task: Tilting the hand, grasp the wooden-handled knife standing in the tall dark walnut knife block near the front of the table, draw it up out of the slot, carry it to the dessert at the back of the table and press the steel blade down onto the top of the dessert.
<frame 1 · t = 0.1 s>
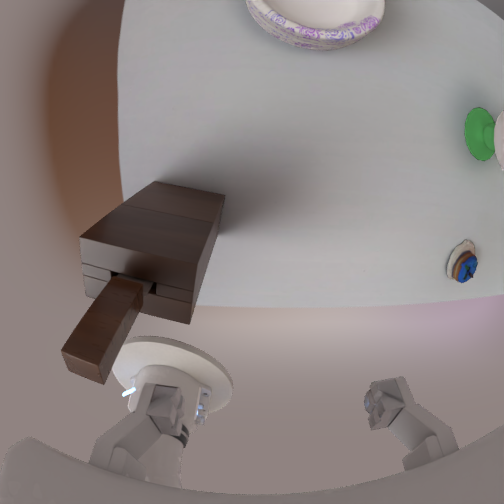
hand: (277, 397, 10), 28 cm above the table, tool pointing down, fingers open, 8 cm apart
knife block: (185, 208, 36), on the table
paper bowls: (306, 8, 23), on the table
cup: (480, 134, 28), on the table
dessert: (460, 259, 39), on the table
knife: (162, 239, 27), point 10 cm above the table, touching knife block
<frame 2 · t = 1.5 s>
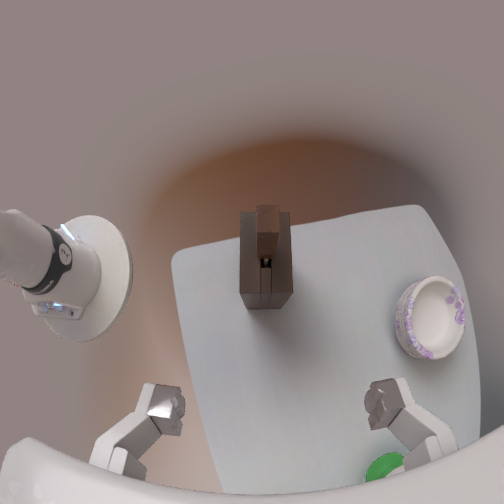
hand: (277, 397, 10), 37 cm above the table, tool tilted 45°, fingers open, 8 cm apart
knife block: (263, 281, 49), on the table
paper bowls: (417, 321, 46), on the table
cup: (385, 469, 36), on the table
knife: (264, 267, 40), point 10 cm above the table, touching knife block
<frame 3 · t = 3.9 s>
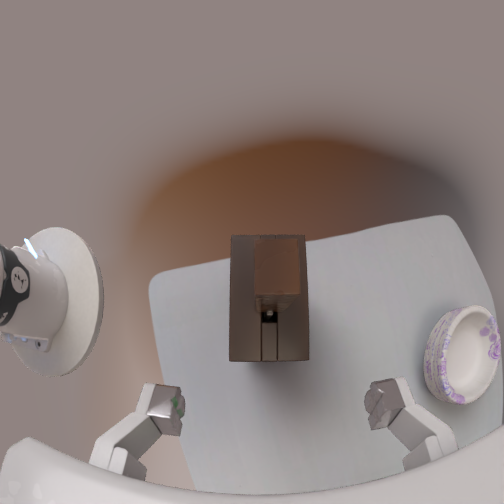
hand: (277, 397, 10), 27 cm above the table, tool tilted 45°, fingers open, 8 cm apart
knife block: (264, 315, 38), on the table
paper bowls: (445, 355, 35), on the table
knife: (266, 307, 28), point 10 cm above the table, touching knife block
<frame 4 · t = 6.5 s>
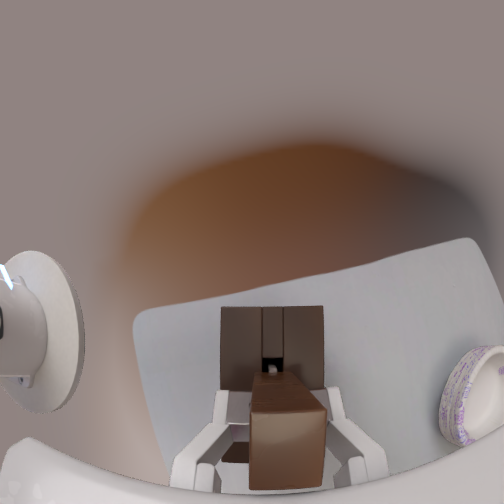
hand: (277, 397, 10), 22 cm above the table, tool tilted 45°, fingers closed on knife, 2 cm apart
knife block: (265, 362, 31), on the table
paper bowls: (461, 393, 28), on the table
knife: (267, 373, 22), point 10 cm above the table, touching gripper, knife block
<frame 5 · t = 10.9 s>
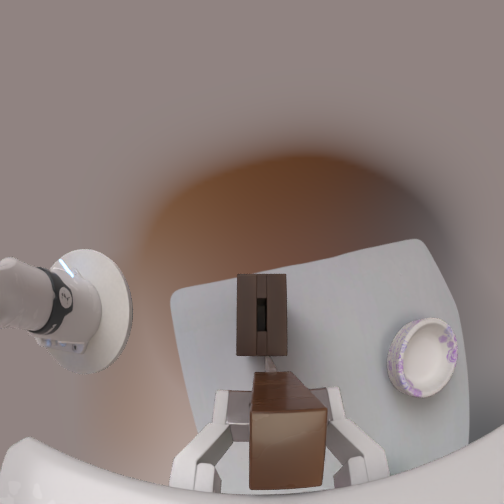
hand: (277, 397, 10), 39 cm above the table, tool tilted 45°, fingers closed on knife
knife block: (260, 322, 49), on the table
paper bowls: (410, 356, 46), on the table
knife: (267, 373, 22), point 27 cm above the table, touching gripper
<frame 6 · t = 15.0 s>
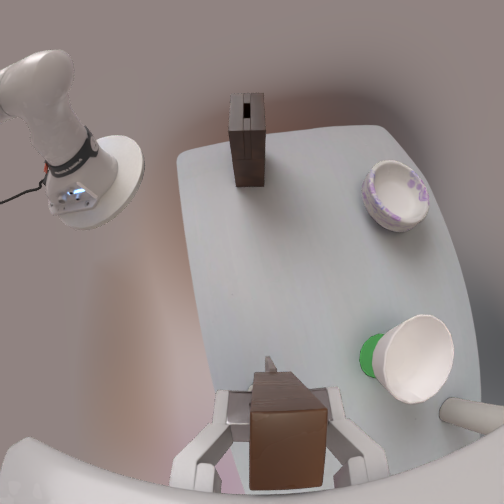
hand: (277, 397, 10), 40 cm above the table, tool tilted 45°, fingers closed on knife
knife block: (249, 168, 59), on the table
paper bowls: (386, 206, 56), on the table
cup: (379, 355, 47), on the table
paper towel roll: (447, 411, 41), on the table
knife: (267, 373, 22), point 27 cm above the table, touching gripper
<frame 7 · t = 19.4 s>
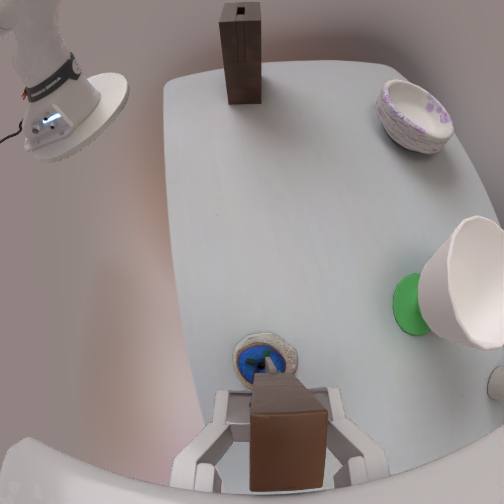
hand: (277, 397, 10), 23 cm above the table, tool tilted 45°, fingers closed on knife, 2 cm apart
knife block: (245, 88, 46), on the table
paper bowls: (404, 132, 43), on the table
cup: (417, 304, 33), on the table
dessert: (264, 361, 32), on the table
paper towel roll: (495, 385, 28), on the table
knife: (267, 373, 22), point 11 cm above the table, touching gripper
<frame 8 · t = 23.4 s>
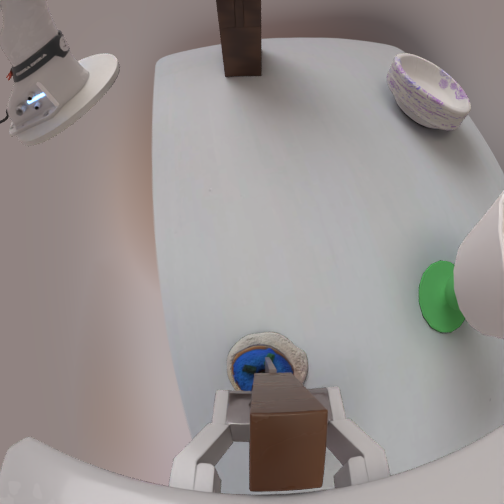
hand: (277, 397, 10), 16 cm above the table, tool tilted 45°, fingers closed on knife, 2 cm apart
knife block: (243, 61, 40), on the table
paper bowls: (418, 109, 36), on the table
cup: (444, 296, 27), on the table
dessert: (266, 368, 25), on the table, touching knife
knife: (267, 373, 22), point 4 cm above the table, touching dessert, gripper
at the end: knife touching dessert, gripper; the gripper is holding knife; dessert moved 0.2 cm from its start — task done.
